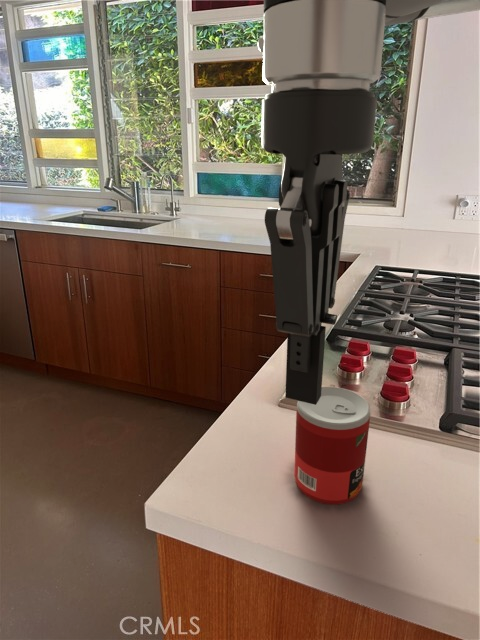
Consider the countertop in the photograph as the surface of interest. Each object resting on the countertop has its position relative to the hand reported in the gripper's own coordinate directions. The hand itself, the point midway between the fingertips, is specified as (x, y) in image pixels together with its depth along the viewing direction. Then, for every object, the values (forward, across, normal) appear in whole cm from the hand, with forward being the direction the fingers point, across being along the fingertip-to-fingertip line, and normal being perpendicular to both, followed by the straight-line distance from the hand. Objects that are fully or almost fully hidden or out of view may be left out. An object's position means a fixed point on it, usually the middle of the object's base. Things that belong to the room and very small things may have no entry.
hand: (303, 396), depth 40 cm
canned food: (+18, -10, 0) cm, 21 cm away
